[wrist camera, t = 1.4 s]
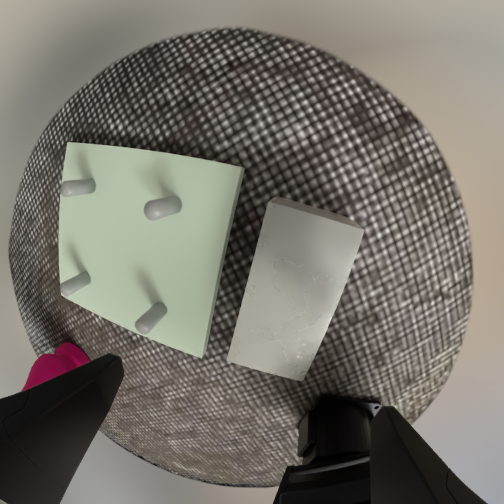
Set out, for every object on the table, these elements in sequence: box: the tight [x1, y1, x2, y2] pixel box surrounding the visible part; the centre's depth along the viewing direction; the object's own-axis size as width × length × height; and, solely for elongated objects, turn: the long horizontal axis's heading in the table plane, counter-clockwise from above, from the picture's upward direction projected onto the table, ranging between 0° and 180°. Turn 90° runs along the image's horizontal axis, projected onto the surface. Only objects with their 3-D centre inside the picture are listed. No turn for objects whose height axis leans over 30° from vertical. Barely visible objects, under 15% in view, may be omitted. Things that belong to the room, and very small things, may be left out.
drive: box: [227, 196, 364, 382], centre depth 17 cm, size 10×5×5 cm, turn 166°
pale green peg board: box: [59, 142, 245, 358], centre depth 18 cm, size 16×15×4 cm
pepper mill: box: [22, 342, 90, 391], centre depth 17 cm, size 7×7×20 cm
